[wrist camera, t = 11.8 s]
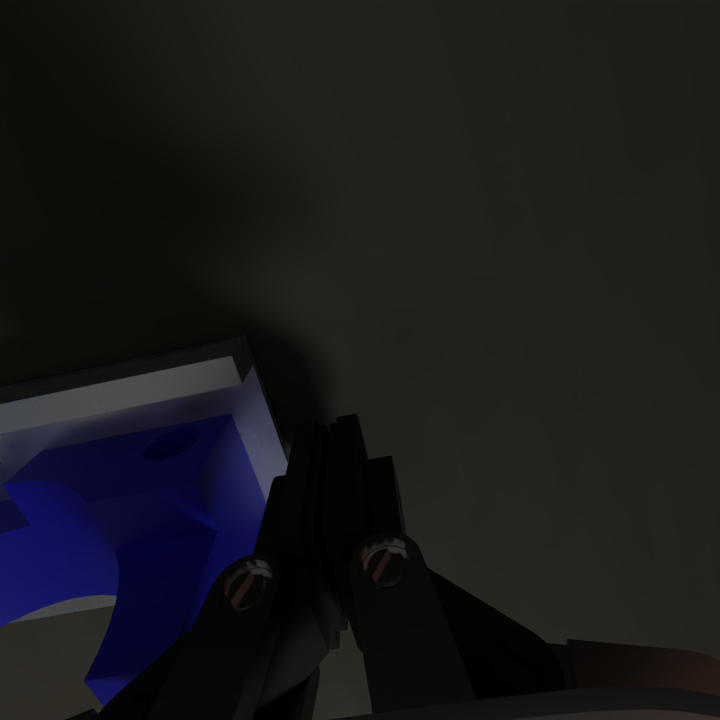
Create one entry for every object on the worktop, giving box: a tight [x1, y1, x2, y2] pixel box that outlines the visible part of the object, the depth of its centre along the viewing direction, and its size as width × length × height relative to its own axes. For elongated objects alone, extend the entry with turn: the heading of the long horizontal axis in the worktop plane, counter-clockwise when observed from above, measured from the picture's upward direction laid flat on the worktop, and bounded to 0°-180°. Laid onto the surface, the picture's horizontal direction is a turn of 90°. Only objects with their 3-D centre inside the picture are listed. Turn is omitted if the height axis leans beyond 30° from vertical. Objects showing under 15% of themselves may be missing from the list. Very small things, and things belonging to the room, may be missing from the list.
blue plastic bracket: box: [0, 414, 266, 706], centre depth 10 cm, size 12×4×6 cm, turn 102°
